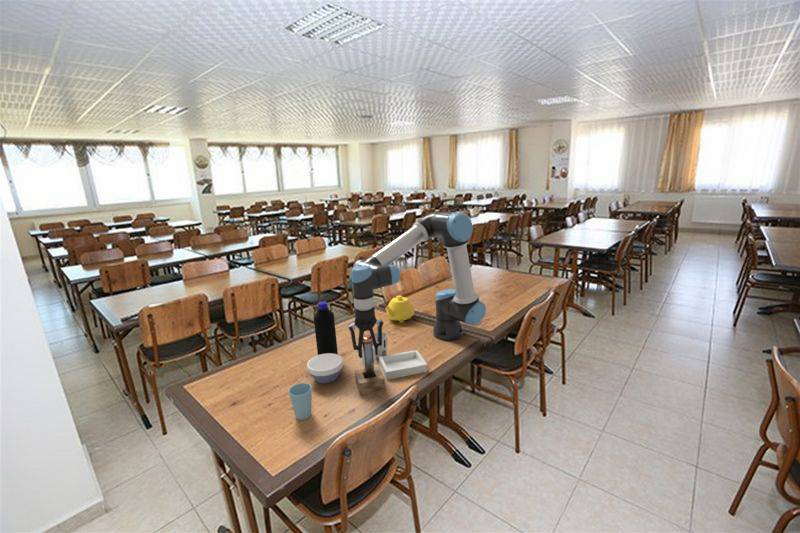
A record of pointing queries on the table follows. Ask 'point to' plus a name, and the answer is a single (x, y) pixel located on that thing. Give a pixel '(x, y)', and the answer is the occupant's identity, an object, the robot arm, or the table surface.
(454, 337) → the robot arm
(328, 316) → the bottle
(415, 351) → the tray
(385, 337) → the cup
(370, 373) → the pin
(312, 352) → the table surface
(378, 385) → the socket block
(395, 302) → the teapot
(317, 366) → the bowl
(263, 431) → the table surface
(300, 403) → the cup
